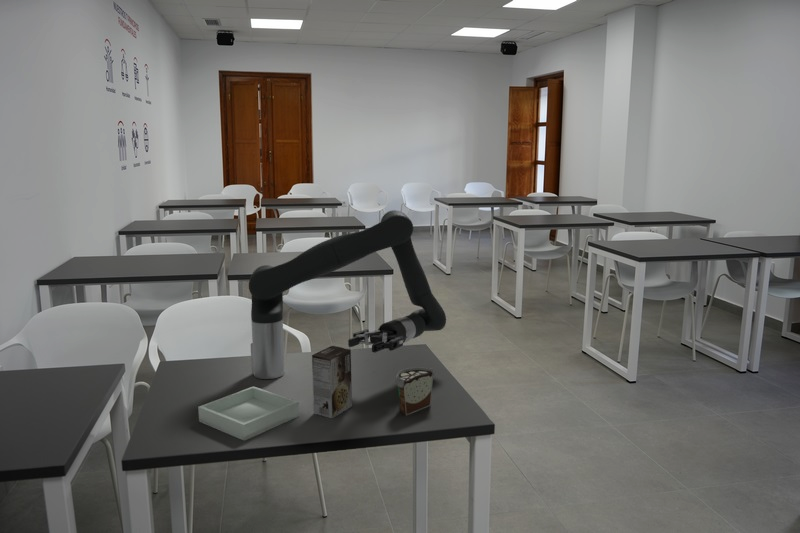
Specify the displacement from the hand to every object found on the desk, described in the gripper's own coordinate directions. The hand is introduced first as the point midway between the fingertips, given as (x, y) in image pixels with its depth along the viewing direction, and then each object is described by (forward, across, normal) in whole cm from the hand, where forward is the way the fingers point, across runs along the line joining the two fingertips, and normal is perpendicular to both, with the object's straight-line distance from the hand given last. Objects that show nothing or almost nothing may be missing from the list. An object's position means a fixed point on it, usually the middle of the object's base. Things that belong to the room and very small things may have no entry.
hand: (360, 346), depth 175 cm
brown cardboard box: (+12, 0, +15) cm, 19 cm away
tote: (+28, -13, +14) cm, 35 cm away
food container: (-2, +15, +15) cm, 21 cm away
